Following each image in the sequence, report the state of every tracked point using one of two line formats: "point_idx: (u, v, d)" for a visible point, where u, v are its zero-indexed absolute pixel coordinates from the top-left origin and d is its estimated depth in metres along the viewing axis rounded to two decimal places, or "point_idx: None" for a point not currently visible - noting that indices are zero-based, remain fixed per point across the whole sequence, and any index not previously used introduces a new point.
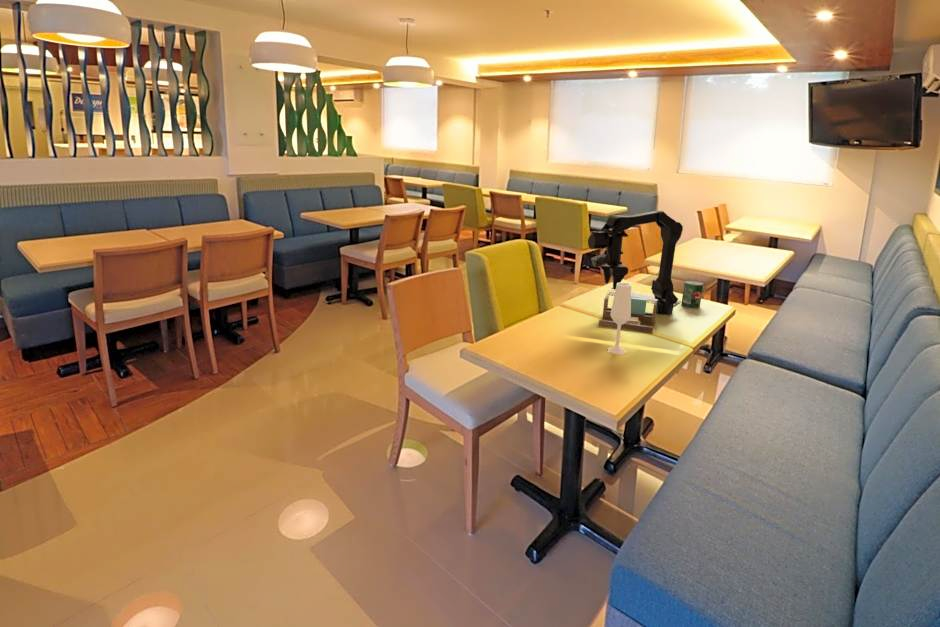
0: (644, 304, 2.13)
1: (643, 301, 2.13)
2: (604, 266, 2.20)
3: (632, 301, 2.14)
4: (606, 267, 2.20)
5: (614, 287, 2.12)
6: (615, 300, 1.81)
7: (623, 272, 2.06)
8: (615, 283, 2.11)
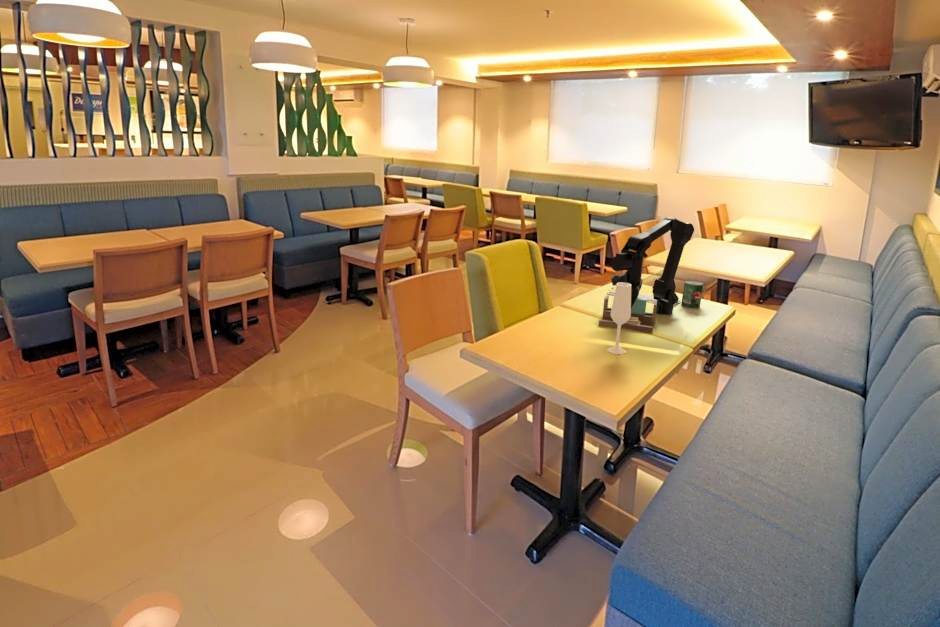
0: (644, 304, 2.13)
1: (643, 301, 2.13)
2: None
3: None
4: None
5: None
6: (615, 300, 1.81)
7: (632, 293, 2.05)
8: None
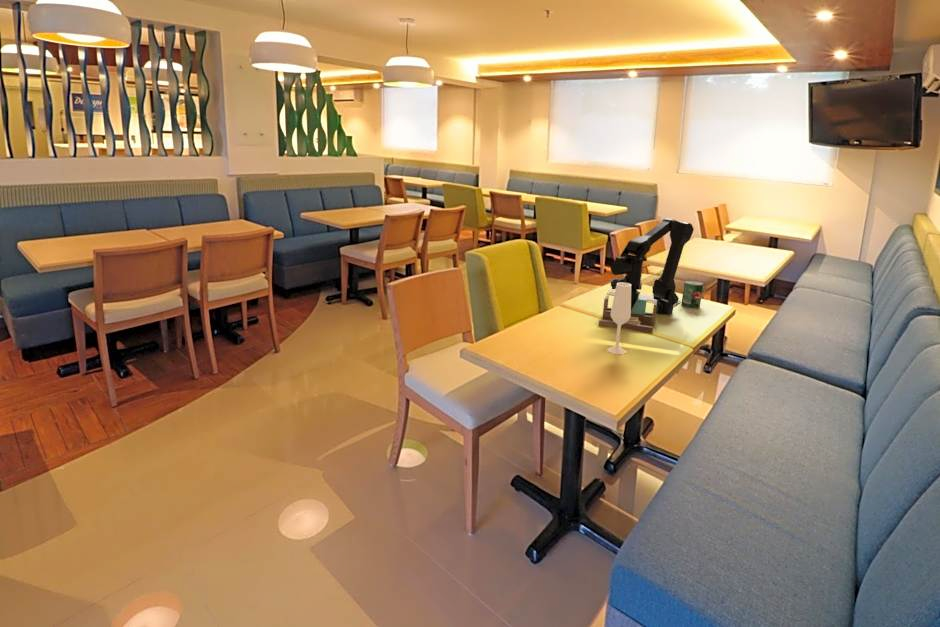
0: (644, 304, 2.13)
1: (643, 301, 2.13)
2: None
3: None
4: None
5: None
6: (615, 300, 1.81)
7: (632, 297, 2.06)
8: None
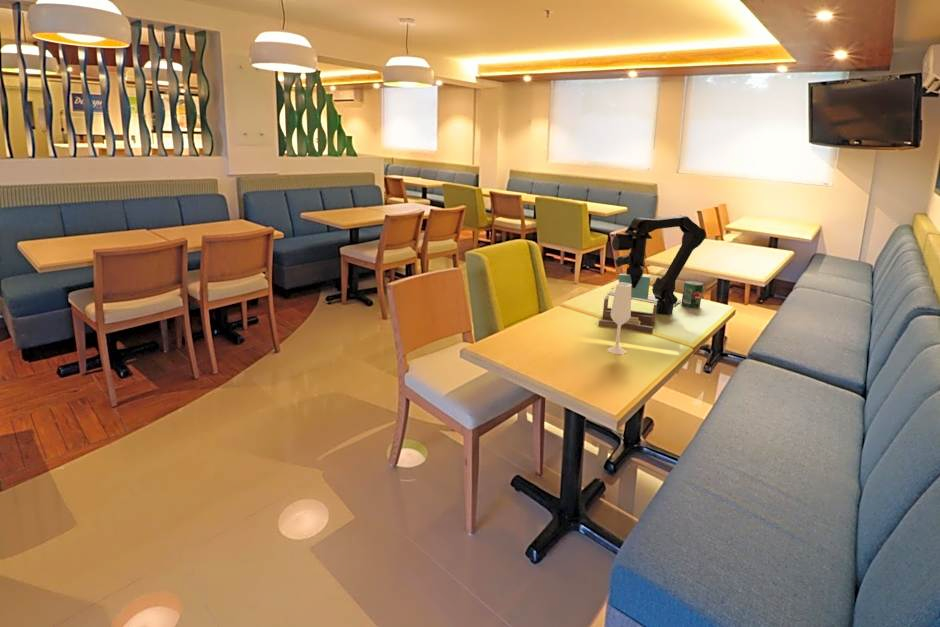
0: (648, 281, 2.17)
1: (647, 278, 2.17)
2: None
3: None
4: None
5: (633, 286, 2.19)
6: (615, 300, 1.81)
7: (636, 273, 2.10)
8: (633, 282, 2.18)
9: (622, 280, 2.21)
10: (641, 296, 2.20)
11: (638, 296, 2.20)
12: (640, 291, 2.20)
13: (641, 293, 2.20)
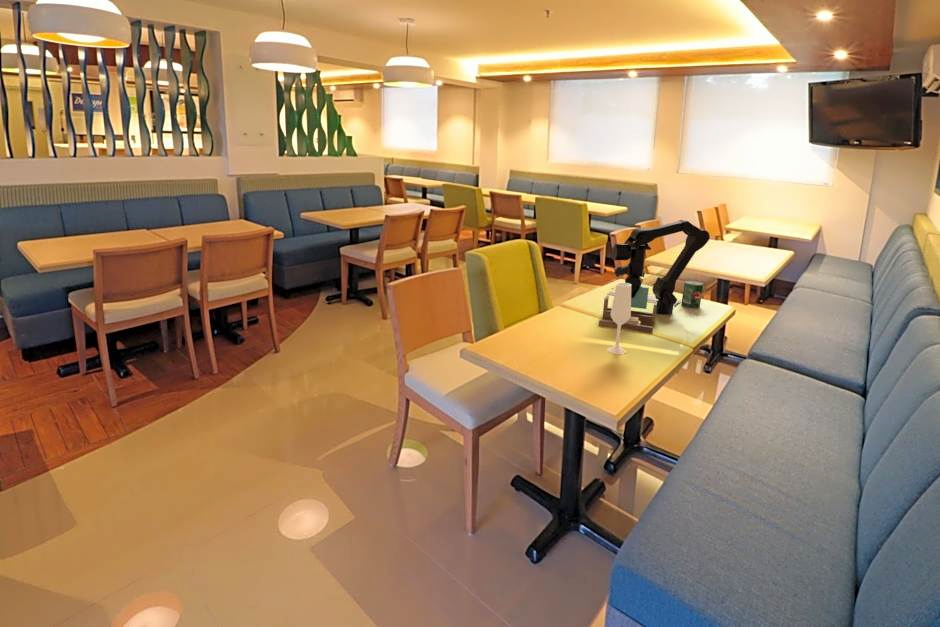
0: (646, 291, 2.20)
1: (645, 289, 2.20)
2: None
3: None
4: None
5: (631, 295, 2.22)
6: (615, 300, 1.81)
7: (635, 283, 2.13)
8: (632, 292, 2.21)
9: None
10: (639, 306, 2.23)
11: (637, 306, 2.23)
12: (639, 301, 2.23)
13: (640, 303, 2.23)
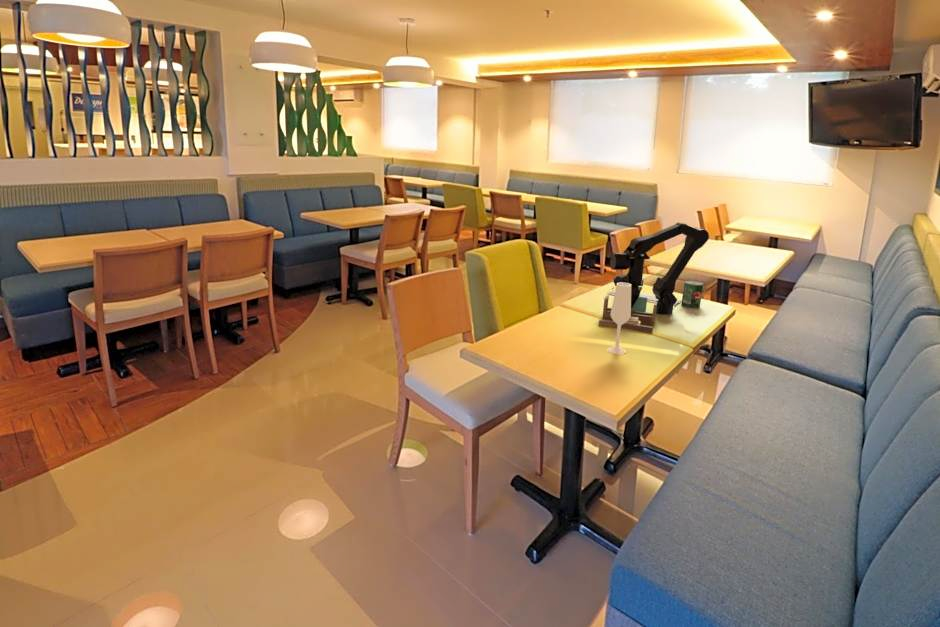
0: (645, 301, 2.22)
1: (644, 298, 2.21)
2: None
3: None
4: None
5: None
6: (615, 300, 1.81)
7: (634, 293, 2.14)
8: None
9: None
10: None
11: None
12: None
13: None
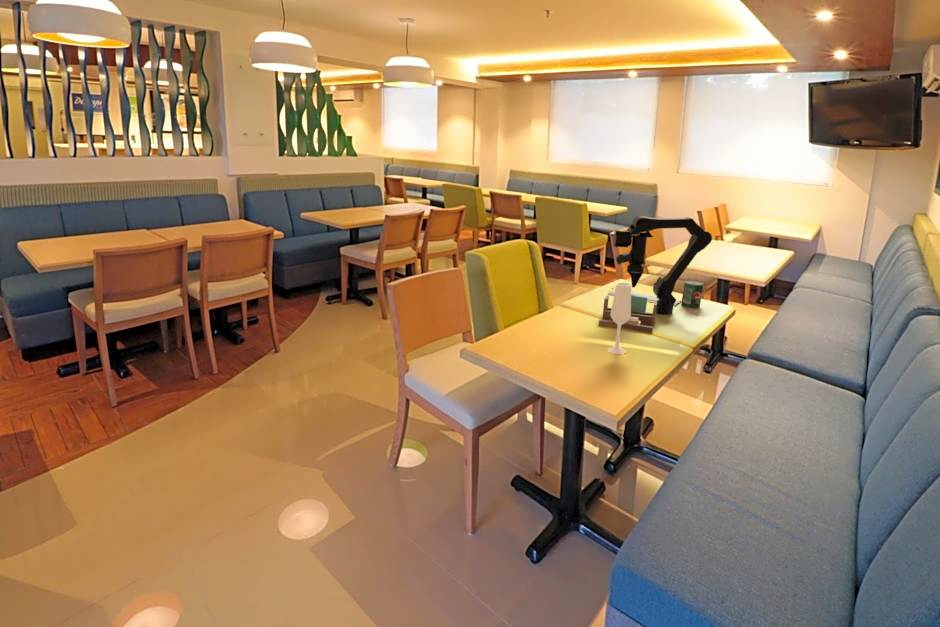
0: (645, 301, 2.22)
1: (644, 298, 2.21)
2: None
3: (633, 298, 2.23)
4: None
5: (632, 285, 2.20)
6: (615, 300, 1.81)
7: (637, 270, 2.14)
8: (633, 281, 2.19)
9: None
10: None
11: None
12: None
13: None
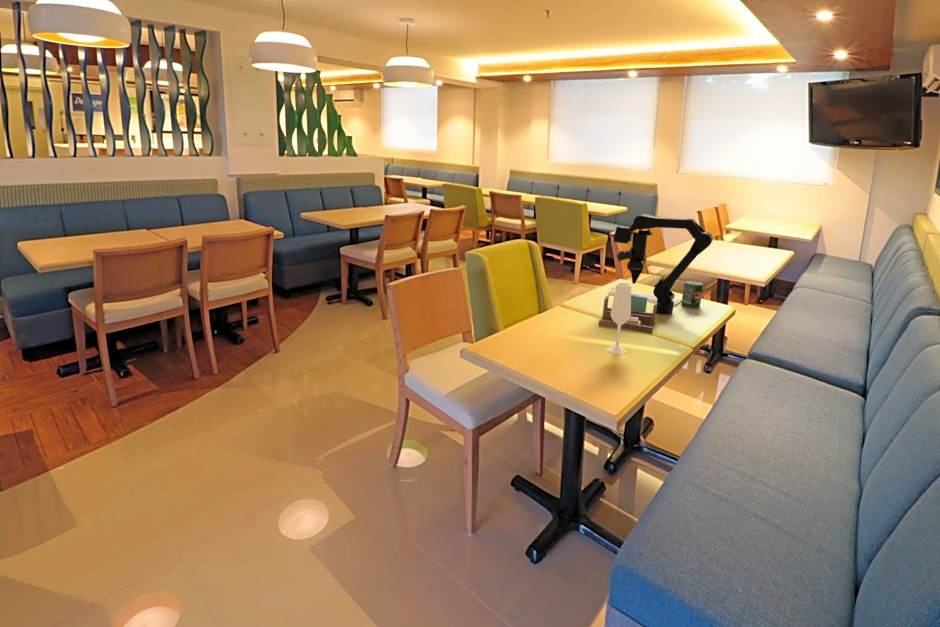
0: (645, 301, 2.22)
1: (644, 298, 2.21)
2: None
3: (633, 298, 2.23)
4: None
5: (633, 281, 2.26)
6: (615, 300, 1.81)
7: (637, 267, 2.19)
8: (633, 277, 2.25)
9: None
10: None
11: None
12: None
13: None
